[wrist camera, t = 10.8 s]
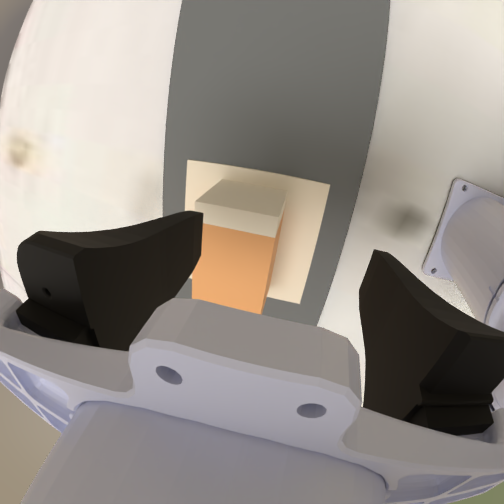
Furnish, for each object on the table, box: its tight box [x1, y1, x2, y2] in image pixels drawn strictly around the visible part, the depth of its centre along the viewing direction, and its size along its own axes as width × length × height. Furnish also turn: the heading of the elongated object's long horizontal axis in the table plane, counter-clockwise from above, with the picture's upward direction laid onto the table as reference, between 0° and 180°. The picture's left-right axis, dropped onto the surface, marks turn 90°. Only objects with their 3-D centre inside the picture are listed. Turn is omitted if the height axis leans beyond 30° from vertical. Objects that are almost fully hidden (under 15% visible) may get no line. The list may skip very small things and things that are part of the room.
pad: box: [185, 159, 330, 304], centre depth 22 cm, size 10×10×1 cm
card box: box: [192, 179, 288, 315], centre depth 19 cm, size 8×5×5 cm, turn 172°
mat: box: [163, 0, 390, 326], centre depth 18 cm, size 14×32×1 cm, turn 172°
